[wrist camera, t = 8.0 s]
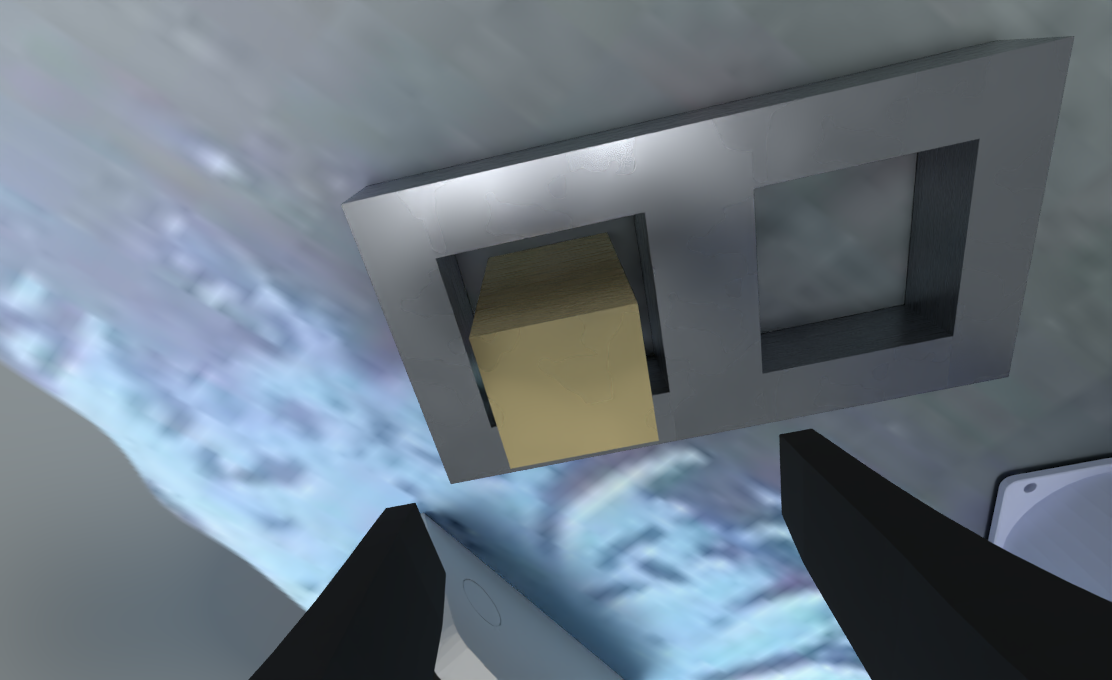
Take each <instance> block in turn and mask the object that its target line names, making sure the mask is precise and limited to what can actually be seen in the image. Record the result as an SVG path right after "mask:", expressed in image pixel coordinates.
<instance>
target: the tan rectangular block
mask: <svg viewBox="0 0 1112 680" xmlns="http://www.w3.org/2000/svg"><path fill="white" fill-rule="evenodd" d="M469 340H470V343H471V346H472V349H473V352H474V355H475V359H476V362H477V365H478V368H479V371H480V374H481V377H482V380H483V384H484V387H485V390H486V393H487V396H488V399H489V402H490V406H491V409H492V412H493V415H494V418H495V421H496V424H497V428H498V431H499V434H500V437H501V440H502V443H503V446H504V450H505V453H506V456H507V459H508V462H509V465H510V468H511V469H512V468H517V467H522V466H528V465H533V464H538V463H543V462H549V461H554V460H559V459H565V458H570V457H575V456H580V455H586V454H591V453H596V452H601V451H607V450H612V449H617V448H622V447H628V446H633V445H638V444H643V443H649V442H654V441H659V438H658V432H657V425H656V419H655V412H654V406H653V399H652V393H651V387H650V380H649V374H648V367H647V361H646V354H645V348H644V341H643V335H642V329H641V322H640V316H639V309H638V303H637V301H636V298H635V296H634V294H633V291H632V289H631V287H630V285H629V282H628V280H627V278H626V275H625V273H624V271H623V268H622V266H621V264H620V261H619V259H618V257H617V255H616V252H615V250H614V248H613V245H612V243H611V241H610V238H609V236H608V234H607V232H606V233H602V234H597V235H592V236H588V237H583V238H579V239H574V240H569V241H565V242H560V243H555V244H551V245H546V246H541V247H537V248H532V249H528V250H523V251H518V252H514V253H509V254H504V255H500V256H495V257H491V258H488V262H487V266H486V270H485V275H484V279H483V283H482V287H481V291H480V295H479V299H478V303H477V307H476V311H475V315H474V320H473V324H472V328H471V332H470V336H469Z"/></svg>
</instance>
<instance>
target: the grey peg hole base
mask: <svg viewBox="0 0 1112 680" xmlns="http://www.w3.org/2000/svg"><path fill="white" fill-rule="evenodd" d="M1073 40H1074V36H1070V37H1052V38H1034V39H1017V40H999V41H993V42H989V43H985V44H980V45H976V46H972V47H967V48H963V49H959V50H954V51H950V52H946V53H941V54H937V55H933V56H928V57H924V58H920V59H915V60H911V61H907V62H902V63H898V64H894V65H889V66H885V67H881V68H876V69H872V70H868V71H863V72H859V73H855V74H850V75H846V76H842V77H837V78H833V79H829V80H824V81H820V82H816V83H811V84H807V85H803V86H798V87H794V88H790V89H785V90H781V91H777V92H772V93H768V94H764V95H759V96H755V97H751V98H746V99H742V100H738V101H733V102H729V103H725V104H720V105H716V106H712V107H707V108H703V109H699V110H695V111H690V112H686V113H682V114H677V115H673V116H669V117H664V118H660V119H656V120H651V121H647V122H643V123H638V124H634V125H630V126H625V127H621V128H617V129H612V130H608V131H604V132H599V133H595V134H591V135H586V136H582V137H578V138H573V139H569V140H565V141H560V142H556V143H552V144H547V145H543V146H539V147H534V148H530V149H526V150H521V151H517V152H513V153H508V154H504V155H500V156H495V157H491V158H487V159H482V160H478V161H474V162H469V163H465V164H461V165H456V166H452V167H448V168H443V169H439V170H435V171H430V172H426V173H422V174H417V175H413V176H409V177H404V178H400V179H396V180H391V181H387V182H383V183H378V184H374V185H370V186H366V187H365V188H363V189H362V190H361V191H359V192H358V193H356V194H355V195H354V196H352V197H351V198H349V199H348V200H346V201H345V202H344V203H342V204H341V206H342V208H343V211H344V214H345V216H346V219H347V221H348V224H349V226H350V229H351V231H352V234H353V236H354V239H355V242H356V244H357V247H358V249H359V252H360V254H361V257H362V259H363V262H364V264H365V267H366V269H367V272H368V275H369V277H370V280H371V282H372V285H373V287H374V290H375V292H376V295H377V297H378V300H379V303H380V305H381V308H382V310H383V313H384V315H385V318H386V320H387V323H388V325H389V328H390V331H391V333H392V336H393V338H394V341H395V343H396V346H397V348H398V351H399V353H400V356H401V358H402V361H403V364H404V366H405V369H406V371H407V374H408V376H409V379H410V381H411V384H412V386H413V389H414V392H415V394H416V397H417V399H418V402H419V404H420V407H421V409H422V412H423V414H424V417H425V420H426V422H427V425H428V427H429V430H430V432H431V435H432V437H433V440H434V442H435V445H436V448H437V450H438V453H439V455H440V458H441V460H442V463H443V465H444V468H445V470H446V473H447V475H448V478H449V481H450V483H451V484H454V483H459V482H464V481H469V480H475V479H480V478H485V477H490V476H495V475H501V474H506V473H511V472H516V471H521V470H527V469H532V468H537V467H542V466H547V465H553V464H558V463H563V462H568V461H573V460H579V459H584V458H589V457H594V456H599V455H605V454H610V453H615V452H620V451H625V450H631V449H636V448H641V447H646V446H651V445H657V444H662V443H667V442H672V441H677V440H683V439H688V438H693V437H698V436H703V435H709V434H714V433H719V432H724V431H729V430H734V429H740V428H745V427H750V426H755V425H760V424H766V423H771V422H776V421H781V420H786V419H792V418H797V417H802V416H807V415H812V414H818V413H823V412H828V411H833V410H838V409H844V408H849V407H854V406H859V405H864V404H870V403H875V402H880V401H885V400H890V399H896V398H901V397H906V396H911V395H916V394H922V393H927V392H932V391H937V390H942V389H948V388H953V387H958V386H963V385H968V384H974V383H979V382H984V381H989V380H994V379H1000V378H1005V377H1009V371H1010V366H1011V361H1012V356H1013V351H1014V346H1015V340H1016V335H1017V330H1018V325H1019V320H1020V315H1021V309H1022V304H1023V299H1024V294H1025V289H1026V283H1027V278H1028V273H1029V268H1030V263H1031V258H1032V252H1033V247H1034V242H1035V237H1036V232H1037V227H1038V221H1039V216H1040V211H1041V206H1042V201H1043V195H1044V190H1045V185H1046V180H1047V175H1048V170H1049V164H1050V159H1051V154H1052V149H1053V144H1054V138H1055V133H1056V128H1057V123H1058V118H1059V113H1060V107H1061V102H1062V97H1063V92H1064V87H1065V82H1066V76H1067V71H1068V66H1069V61H1070V56H1071V50H1072V45H1073ZM916 152H918V159H917V171H916V182H915V194H914V206H913V217H912V229H911V240H910V252H909V264H908V275H907V287H906V299H905V305H902V306H897V307H892V308H887V309H882V310H877V311H872V312H868V313H863V314H858V315H853V316H848V317H843V318H838V319H833V320H828V321H823V322H818V323H813V324H808V325H803V326H799V327H794V328H789V329H784V330H779V331H774V332H769V333H764V334H760V313H759V292H758V270H757V249H756V228H755V207H754V188H757V187H762V186H767V185H771V184H776V183H780V182H785V181H789V180H794V179H798V178H803V177H807V176H812V175H816V174H821V173H826V172H830V171H835V170H839V169H844V168H848V167H853V166H857V165H862V164H866V163H871V162H876V161H880V160H885V159H889V158H894V157H898V156H903V155H907V154H912V153H916ZM630 215H634V220H635V226H636V233H637V240H638V246H639V253H640V260H641V266H642V273H643V280H644V286H645V293H646V300H647V306H648V313H649V320H650V327H651V333H652V340H653V347H654V353H655V356H651V357H646V361H647V367H648V374H649V380H650V387H651V393H652V399H653V406H654V412H655V419H656V425H657V432H658V438H659V441H654V442H649V443H643V444H638V445H633V446H628V447H622V448H617V449H612V450H607V451H601V452H596V453H591V454H586V455H580V456H575V457H570V458H565V459H559V460H554V461H549V462H543V463H538V464H533V465H528V466H522V467H517V468H512V469H511V468H510V465H509V462H508V459H507V456H506V453H505V450H504V446H503V443H502V440H501V437H500V434H499V431H498V428H497V424H496V421H495V418H494V415H493V412H492V409H491V406H490V402H489V399H488V396H487V393H486V390H485V387H484V384H483V380H482V377H481V374H480V371H479V368H478V365H477V362H476V359H475V355H474V352H473V349H472V346H471V343H470V340H469V336H470V332H471V328H472V324H473V320H474V316H473V313H472V309H471V306H470V303H469V300H468V297H467V293H466V290H465V287H464V284H463V280H462V277H461V274H460V271H459V268H458V264H457V261H456V258H455V255H454V254H458V253H462V252H467V251H471V250H476V249H480V248H485V247H489V246H494V245H499V244H503V243H508V242H512V241H517V240H521V239H526V238H530V237H535V236H539V235H544V234H549V233H553V232H558V231H562V230H567V229H571V228H576V227H580V226H585V225H589V224H594V223H598V222H603V221H608V220H612V219H617V218H621V217H626V216H630Z"/></svg>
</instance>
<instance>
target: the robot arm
mask: <svg viewBox="0 0 1112 680" xmlns="http://www.w3.org/2000/svg"><path fill="white" fill-rule="evenodd" d="M779 438H780V471H781V504H782V515H783V518H784V520H785V522H786V525H787V527H788V529H789V532H790V534H791V536H792V539H793V541H794V543H795V545H796V548H797V550H798V552H799V554H800V556H801V559H802V561H803V563H804V565H805V567H806V568H807V570H808V572H809V574H810V575H811V577H812V579H813V581H814V582H815V584H816V586H817V588H818V589H819V591H820V593H821V594H822V596H823V598H824V600H825V601H826V603H827V605H828V606H829V608H830V610H831V611H832V613H833V615H834V617H835V618H836V620H837V622H838V623H839V625H840V627H841V628H842V630H843V632H844V634H845V635H846V637H847V639H848V640H849V642H850V644H851V645H852V647H853V649H854V651H855V652H856V654H857V656H858V657H859V659H860V661H861V662H862V664H863V666H864V668H865V669H866V671H867V673H868V674H869V676H870V678H871V679H872V680H1112V458H1106V459H1100V460H1095V461H1089V462H1084V463H1078V464H1073V465H1067V466H1062V467H1056V468H1051V469H1045V470H1040V471H1034V472H1029V473H1023V474H1018V475H1012V476H1009V477H1007V478H1005V479H1004V480H1003V481H1002V482H1001V483H1000V486H999V490H998V495H997V500H996V504H995V509H994V514H993V519H992V524H991V529H990V534H989V538H988V540H986V539H984V538H982V537H981V536H979V535H977V534H976V533H974V532H972V531H970V530H969V529H967V528H965V527H963V526H962V525H960V524H958V523H956V522H955V521H953V520H951V519H949V518H948V517H946V516H944V515H943V514H941V513H939V512H938V511H936V510H934V509H933V508H931V507H929V506H928V505H926V504H924V503H923V502H921V501H920V500H918V499H917V498H915V497H913V496H912V495H910V494H909V493H907V492H906V491H904V490H902V489H901V488H899V487H898V486H896V485H895V484H893V483H891V482H890V481H888V480H887V479H885V478H884V477H882V476H881V475H879V474H878V473H876V472H875V471H873V470H872V469H870V468H869V467H867V466H866V465H864V464H863V463H862V462H860V461H859V460H857V459H856V458H854V457H853V456H851V455H850V454H848V453H847V452H845V451H844V450H842V449H841V448H840V447H838V446H837V445H835V444H834V443H832V442H831V441H829V440H828V439H826V438H825V437H823V436H822V435H821V434H819V433H818V432H816V431H815V430H813V429H807V430H802V431H797V432H791V433H786V434H780V435H779ZM445 584H446V572H445V570H444V567H443V565H442V563H441V560H440V558H439V556H438V554H437V551H436V549H435V547H434V544H433V542H432V540H431V537H430V535H429V533H428V531H427V528H426V526H425V524H424V521H423V519H422V517H421V515H420V512H419V510H418V508H417V505H416V503H411V504H406V505H401V506H395V507H390V508H386V509H385V510H384V512H383V513H382V514H381V515H380V517H379V518H378V519H377V521H376V522H375V523H374V524H373V526H372V527H371V528H370V530H369V531H368V532H367V534H366V535H365V537H364V538H363V539H362V541H361V542H360V543H359V545H358V546H357V547H356V549H355V550H354V551H353V553H352V554H351V555H350V557H349V558H348V559H347V561H346V562H345V563H344V565H343V566H342V567H341V568H340V570H339V571H338V572H337V574H336V575H335V576H334V578H333V579H332V580H331V582H330V583H329V584H328V585H327V587H326V588H325V589H324V591H323V592H322V593H321V595H320V596H319V597H318V598H317V600H316V601H315V602H314V603H313V605H312V606H311V607H310V608H309V609H308V611H307V612H306V613H305V614H304V616H303V617H302V618H301V619H300V620H299V622H298V623H297V624H296V625H295V626H294V628H293V629H292V630H291V631H290V632H289V634H288V635H287V636H286V637H285V638H284V640H283V641H282V642H281V643H280V644H279V646H278V647H277V648H276V649H275V650H274V652H273V653H272V654H271V655H270V656H269V657H268V659H267V660H266V661H265V662H264V663H263V664H262V665H261V667H260V668H259V669H258V670H257V671H256V672H255V673H254V674H253V676H251V677H250V679H249V680H433V675H434V670H435V665H436V659H437V654H438V648H439V643H440V638H441V632H442V626H443V614H444V602H445Z"/></svg>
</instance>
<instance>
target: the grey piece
mask: <svg viewBox="0 0 1112 680" xmlns="http://www.w3.org/2000/svg"><path fill="white" fill-rule="evenodd" d="M420 515H421V517H422V519H423V521H424V524H425V526H426V528H427V531H428V533H429V535H430V537H431V540H432V542H433V544H434V547H435V549H436V551H437V554H438V556H439V558H440V560H441V563H442V565H443V567H444V570H445V572H446V584H445V602H444V614H443V626H442V632H441V638H440V643H439V648H438V654H437V659H436V665H435V670H434V675H433V680H624V679H623V678H622V677H621V676H619V675H618V674H617V673H616V672H615V671H613V670H612V669H611V668H610V667H609V666H607V665H606V664H605V663H604V662H603V661H601V660H600V659H599V658H598V657H597V656H595V655H594V654H593V653H592V652H591V651H589V650H588V649H587V648H586V647H584V646H583V645H582V644H581V643H580V642H578V641H577V640H576V639H575V638H574V637H572V636H571V635H570V634H569V633H568V632H566V631H565V630H564V629H563V628H562V627H560V626H559V625H558V624H557V623H556V622H554V621H553V620H552V619H551V618H550V617H548V616H547V615H546V614H545V613H544V612H542V611H541V610H540V609H539V608H538V607H536V606H535V605H534V604H533V603H532V602H530V601H529V600H528V599H527V598H526V597H524V596H523V595H522V594H521V593H520V592H518V591H517V590H516V589H515V588H514V587H512V586H511V585H510V584H509V583H508V582H506V581H505V580H504V579H503V578H502V577H500V576H499V575H498V574H497V573H495V572H494V571H493V570H492V569H491V568H489V567H488V566H487V565H486V564H485V563H483V562H482V561H481V560H480V559H479V558H477V557H476V556H475V555H474V554H473V553H471V552H470V551H469V550H468V549H467V548H465V547H464V546H463V545H462V544H461V543H459V542H458V541H457V540H456V539H455V538H453V537H452V536H451V535H450V534H449V533H447V532H446V531H445V530H444V529H443V528H441V527H440V526H439V525H438V524H437V523H435V522H434V521H433V520H432V519H431V518H429V517H428V516H427V515H426V514H425V513H421V514H420Z"/></svg>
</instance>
